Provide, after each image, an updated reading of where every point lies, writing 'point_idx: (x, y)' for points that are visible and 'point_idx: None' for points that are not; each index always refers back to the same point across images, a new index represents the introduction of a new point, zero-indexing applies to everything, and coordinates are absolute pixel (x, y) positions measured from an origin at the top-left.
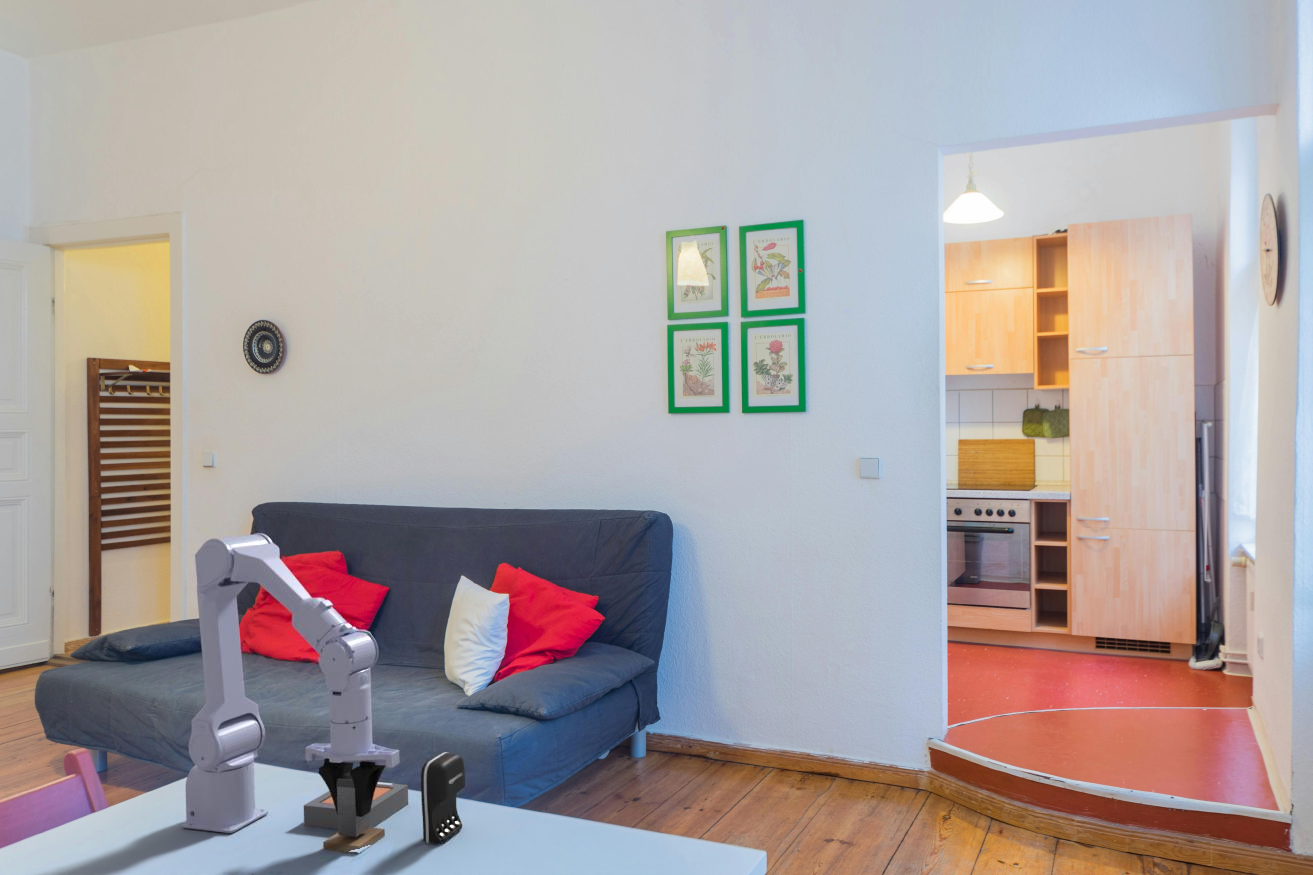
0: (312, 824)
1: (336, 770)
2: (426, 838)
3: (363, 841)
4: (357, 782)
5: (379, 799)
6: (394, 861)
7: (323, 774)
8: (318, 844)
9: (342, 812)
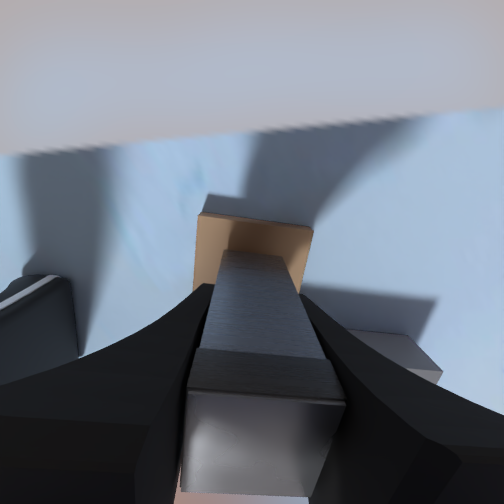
0: (389, 335)
1: (380, 481)
2: (48, 279)
3: (203, 245)
4: (138, 361)
5: None
6: (77, 174)
7: (477, 419)
8: (333, 250)
9: (274, 283)
